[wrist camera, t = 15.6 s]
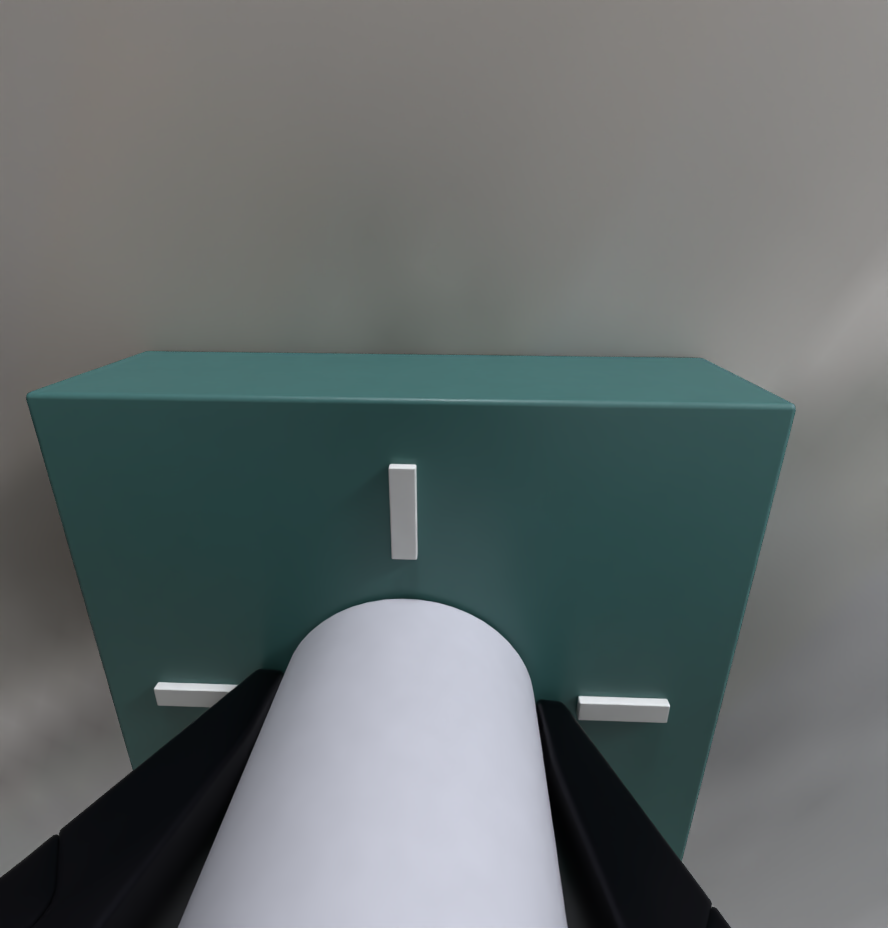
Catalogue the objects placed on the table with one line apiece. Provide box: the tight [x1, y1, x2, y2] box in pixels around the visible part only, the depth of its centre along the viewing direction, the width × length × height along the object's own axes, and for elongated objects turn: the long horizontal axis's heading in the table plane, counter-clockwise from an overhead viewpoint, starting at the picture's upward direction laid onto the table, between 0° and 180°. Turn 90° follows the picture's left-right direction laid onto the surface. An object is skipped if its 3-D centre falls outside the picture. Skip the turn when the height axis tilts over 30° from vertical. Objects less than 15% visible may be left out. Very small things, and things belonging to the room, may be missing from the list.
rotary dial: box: [26, 351, 796, 862], centre depth 10 cm, size 10×10×3 cm
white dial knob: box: [178, 599, 568, 928], centre depth 7 cm, size 4×4×5 cm
